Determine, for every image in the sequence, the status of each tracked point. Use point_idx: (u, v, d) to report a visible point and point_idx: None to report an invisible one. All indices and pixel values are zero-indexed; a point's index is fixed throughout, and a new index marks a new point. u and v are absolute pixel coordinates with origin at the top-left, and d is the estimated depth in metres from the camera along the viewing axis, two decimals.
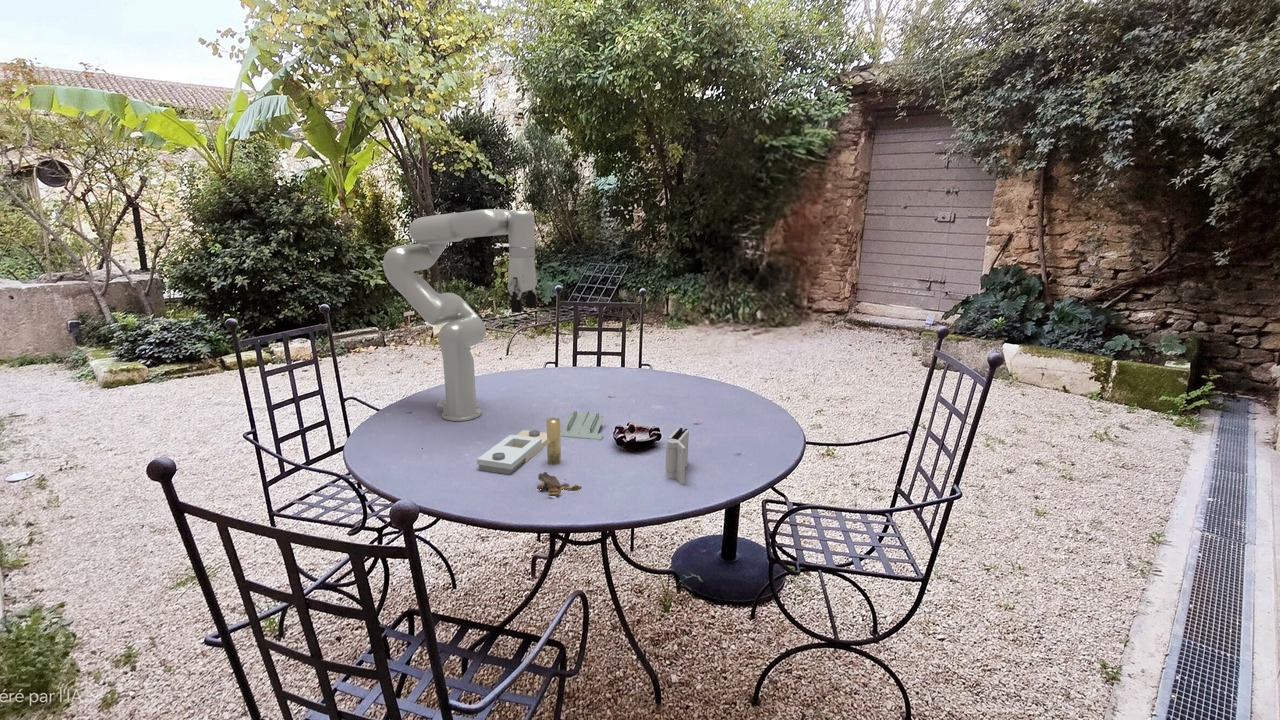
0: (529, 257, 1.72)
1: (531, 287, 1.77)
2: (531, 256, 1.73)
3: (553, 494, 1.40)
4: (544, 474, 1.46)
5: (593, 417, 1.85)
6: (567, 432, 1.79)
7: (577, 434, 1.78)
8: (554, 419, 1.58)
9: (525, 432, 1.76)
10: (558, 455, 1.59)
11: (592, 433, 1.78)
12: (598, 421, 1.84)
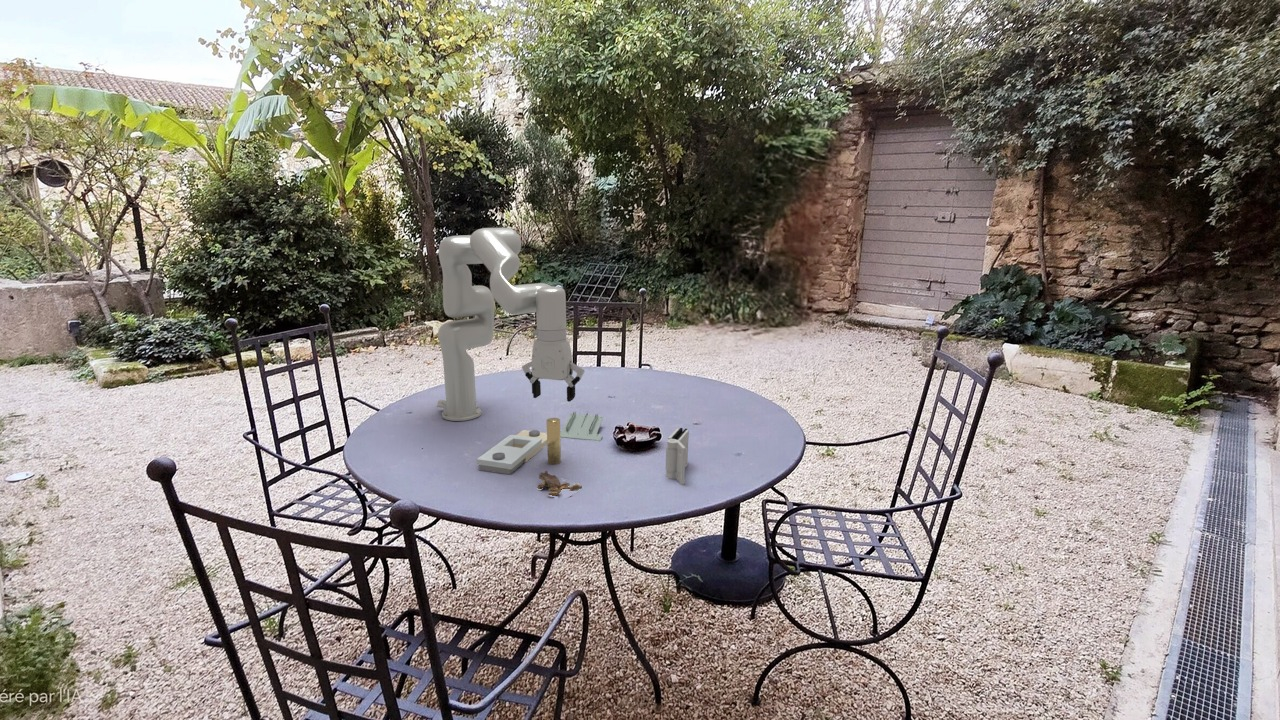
0: None
1: None
2: None
3: (553, 493, 1.40)
4: (545, 473, 1.46)
5: (592, 418, 1.85)
6: (566, 433, 1.78)
7: (576, 435, 1.77)
8: (554, 419, 1.58)
9: (525, 432, 1.76)
10: (558, 455, 1.59)
11: (591, 434, 1.77)
12: (597, 422, 1.83)
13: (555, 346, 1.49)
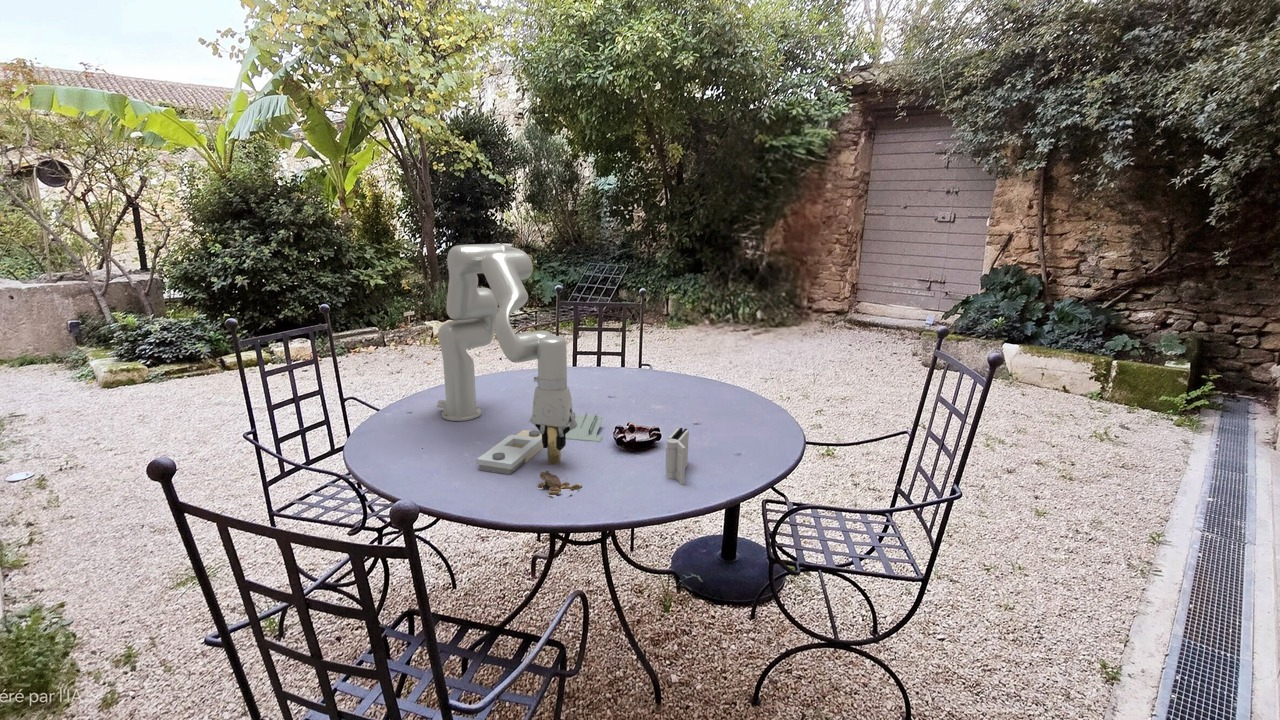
0: None
1: None
2: None
3: (553, 493, 1.41)
4: (546, 472, 1.47)
5: (591, 419, 1.84)
6: None
7: (576, 436, 1.76)
8: None
9: (525, 432, 1.76)
10: (558, 455, 1.59)
11: (591, 435, 1.77)
12: (596, 423, 1.82)
13: (556, 395, 1.52)
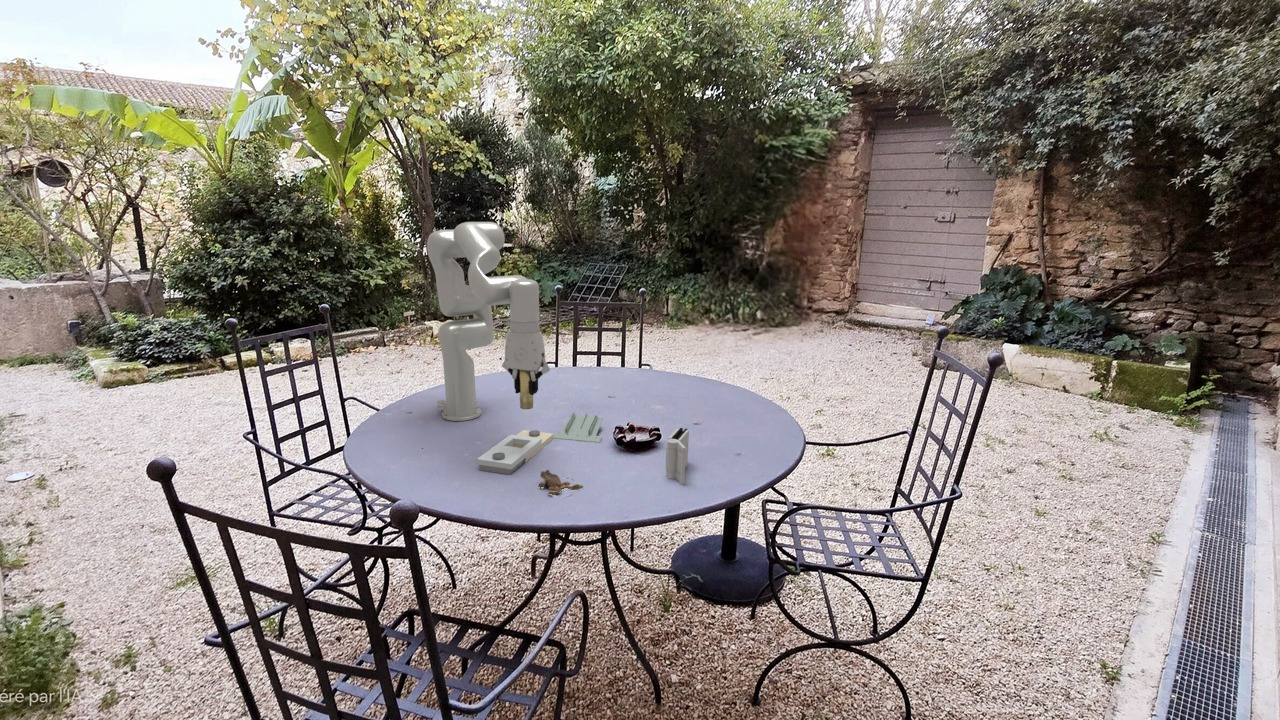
0: None
1: None
2: None
3: (553, 492, 1.41)
4: (546, 472, 1.47)
5: (592, 419, 1.83)
6: (565, 435, 1.77)
7: (575, 437, 1.76)
8: None
9: (525, 432, 1.76)
10: (530, 400, 1.59)
11: (590, 436, 1.76)
12: (596, 423, 1.82)
13: (528, 338, 1.52)
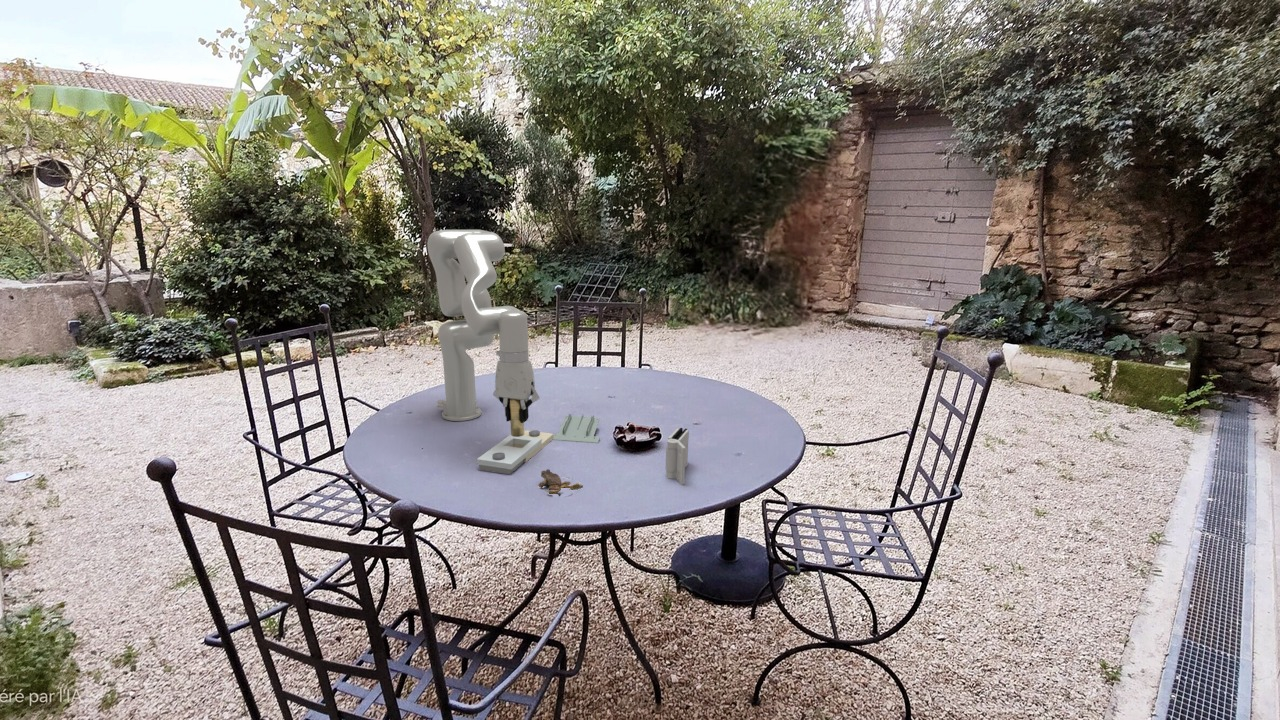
0: None
1: None
2: None
3: (553, 491, 1.41)
4: (547, 471, 1.47)
5: (588, 420, 1.83)
6: (563, 436, 1.76)
7: (573, 438, 1.75)
8: None
9: (525, 432, 1.76)
10: (521, 428, 1.62)
11: (588, 436, 1.76)
12: (593, 424, 1.81)
13: (517, 367, 1.56)
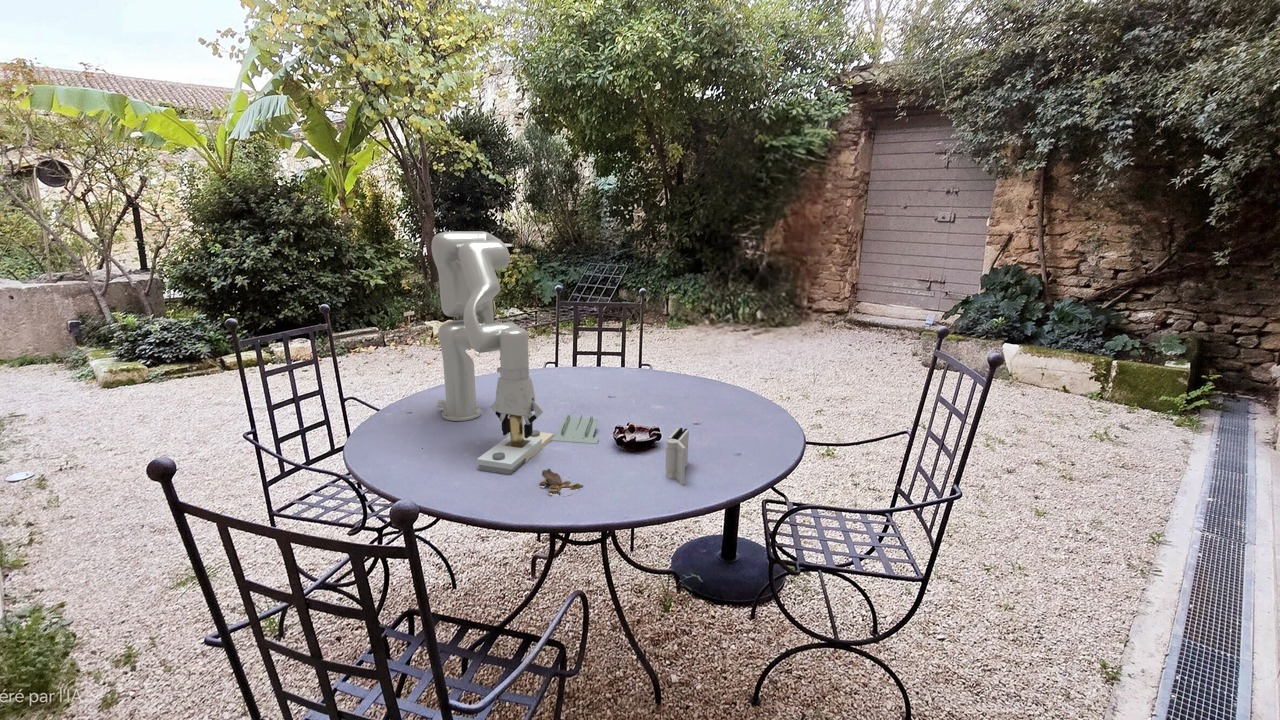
0: None
1: None
2: None
3: (553, 491, 1.42)
4: (547, 471, 1.48)
5: (587, 421, 1.82)
6: (561, 437, 1.75)
7: (572, 438, 1.75)
8: None
9: None
10: (521, 446, 1.64)
11: (587, 437, 1.75)
12: (592, 425, 1.80)
13: (518, 384, 1.57)
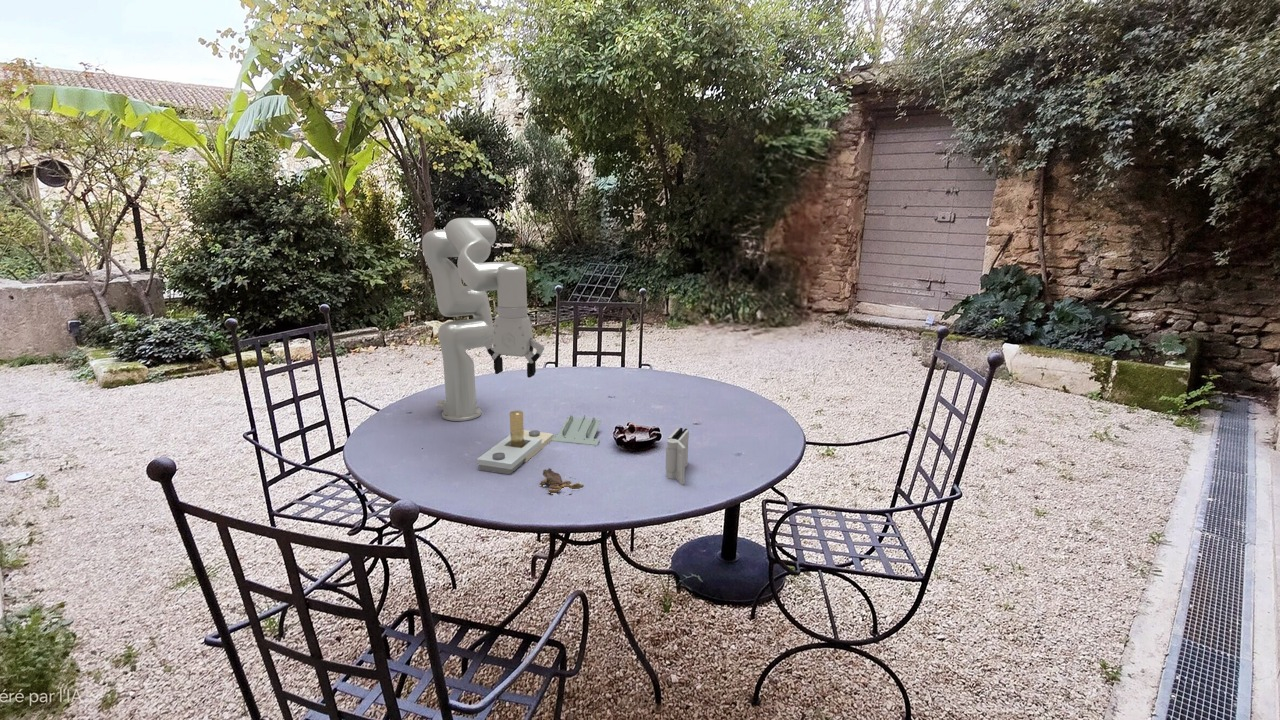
0: None
1: None
2: None
3: (553, 490, 1.42)
4: (548, 470, 1.48)
5: (589, 422, 1.81)
6: (562, 437, 1.75)
7: (573, 439, 1.74)
8: (517, 412, 1.63)
9: (525, 432, 1.76)
10: (521, 447, 1.64)
11: (588, 438, 1.74)
12: (594, 426, 1.79)
13: (515, 323, 1.53)
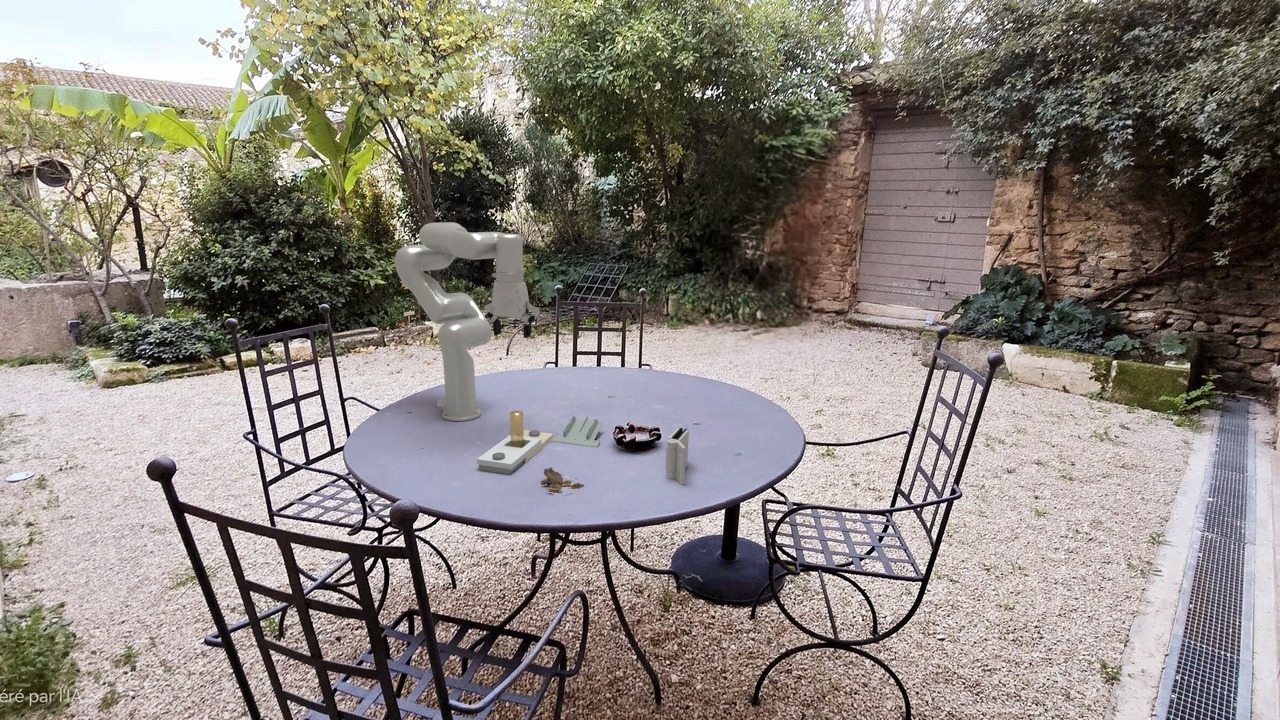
0: None
1: None
2: None
3: (553, 490, 1.42)
4: (549, 469, 1.48)
5: (591, 423, 1.80)
6: (563, 438, 1.74)
7: (573, 440, 1.73)
8: (517, 412, 1.63)
9: (525, 432, 1.76)
10: (521, 447, 1.64)
11: (588, 440, 1.73)
12: (596, 427, 1.78)
13: (513, 287, 1.66)
